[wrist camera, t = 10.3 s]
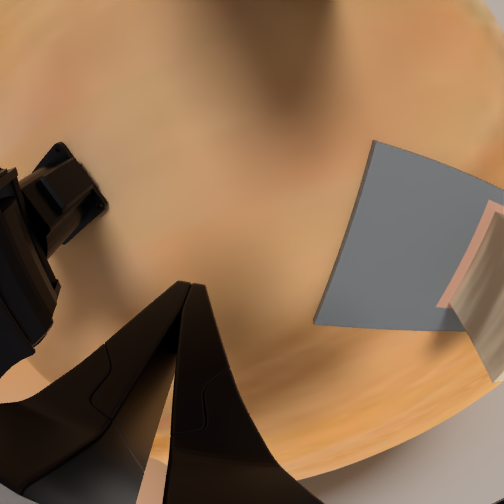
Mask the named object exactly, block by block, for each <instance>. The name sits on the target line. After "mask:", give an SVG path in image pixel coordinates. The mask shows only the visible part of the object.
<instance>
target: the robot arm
mask: <svg viewBox="0 0 504 504" xmlns="http://www.w3.org/2000/svg"><path fill="white" fill-rule="evenodd" d="M58 147H59V148H60V151H59V150H58ZM17 176H18V173H17V169H16V167H15V168H12V169H9V170H7V169H4V170H3V169H1V168H0V378H1V377H2V376H3V375H4V374H5V372H6V371H8V370H9V369H10V368H11V367H12V366H13V365H15V364H16V363H18V362H19V361H21V360H22V359H25V358H27V357H29V356H31V355H33V354H34V353H35V349H34V347H35V346H36V345H38V344H39V343H40V342H41V341H42V340H43V338H44V337H45V336H46V334H47V332H48V331H49V329H50V328H51V327H52V324H53V319H52V317H53V313H54V310H55V307H56V305H57V299H58V295H59V292H60V288H61V285H60V283H59V281H58V279H56V278H55V276H54V273H53V271H52V269H51V267H50V265H49V263H48V259H49V257H50V256H51V255H52V254H53V253H54V252H55V251H56V250H57V248H58V247H59V246H60V245H61V244H63V245H65V244H66V243H67V242H68V241H70V240H71V239H72V238H73V237H74V236H75V235H76V234H77V233H78V232H79V231H81V230H82V229H83V228H84V227H85V226H86V225H87V224H88V223H90V222H91V221H92V220H93V219H94V218H95V217H97V216H98V215H99V214H100V213H101V212H102V211H104V210H105V209H106V207H107V201H106V200H105V198H104V197H103V196H102V195H101V193H100V192H99V191H98V189H97V188H96V187H95V185H94V184H93V182H92V181H91V180H90V178H89V177H88V176H87V174H86V173H85V172H84V170H83V169H82V167H81V166H80V165H79V163H78V162H77V161H76V159H74V157H73V156H72V154H71V153H70V152H69V150H68V149H67V147H66V146H65V144H64V143H62V142H58V143H56V144H55V145H54V146H53V147H52V148H51V149H50V150H49V152H48V153H47V154H46V155H45V157H44V158H43V159H42V160H41V162H40V163H39V164H38V165H37V167H36V168H35V169H34V171H33V172H32V173H31V174H30V175H28V176H27V177H25V178H23V179H22V180H20V181H19V182H18V178H17ZM99 203H101V204H102V206H100V205H99ZM174 374H175V378H174V389H173V402H172V417H171V434H170V435H171V437H170V450H169V460H168V467H167V474H166V481H165V488H164V496H163V503H162V504H324V503H323V502H322V501H321V500H319V499H318V498H317V497H316V496H314V495H313V494H312V493H311V492H309V491H308V490H307V489H306V488H305V487H303V486H302V485H301V484H300V483H299V482H298V481H296V480H295V479H294V478H293V477H292V476H291V475H289V474H288V473H287V472H286V471H285V470H284V469H283V468H282V467H281V466H280V465H279V464H278V462H277V461H276V460H275V458H274V457H273V456H272V454H271V453H270V451H269V449H268V448H267V446H266V444H265V442H264V441H263V439H262V437H261V435H260V433H259V432H258V430H257V428H256V426H255V424H254V422H253V421H252V419H251V417H250V415H249V413H248V411H247V409H246V407H245V405H244V403H243V401H242V399H241V396H240V394H239V391H238V389H237V386H236V383H235V381H234V378H233V375H232V372H231V370H230V366H229V363H228V360H227V356H226V353H225V350H224V347H223V343H222V340H221V337H220V334H219V330H218V327H217V324H216V320H215V317H214V313H213V310H212V306H211V303H210V299H209V296H208V292H207V289H206V286H205V285H203V284H197V283H192V284H191V283H190V282H185V281H177V282H176V283H174V284H173V285H172V286H171V287H170V288H168V289H167V290H166V291H165V292H164V293H162V294H161V295H160V296H159V297H158V298H156V299H155V300H154V301H153V302H152V303H151V304H149V305H148V306H147V307H146V308H145V309H143V310H142V311H141V312H140V313H139V314H138V315H136V316H135V317H134V318H133V319H132V320H131V321H129V322H128V323H127V324H126V325H125V326H124V327H122V328H121V329H120V330H119V331H118V332H117V333H115V334H114V335H113V336H112V337H111V338H110V339H109V340H107V341H106V342H105V344H103V345H101V346H100V347H99V348H98V349H97V350H96V351H95V352H93V353H92V354H91V355H90V356H89V357H87V358H86V359H85V360H84V361H82V362H81V363H80V364H78V365H77V366H76V367H74V368H73V369H72V370H70V371H69V372H67V373H66V374H65V375H63V376H62V377H60V378H59V379H57V380H56V381H54V382H53V383H52V384H50V385H49V386H47V387H46V388H44V389H43V390H42V391H40V392H39V393H37V394H35V395H34V396H32V397H30V398H28V399H25V400H23V401H19V402H13V403H1V404H0V504H136V500H137V496H138V493H139V490H140V486H141V482H142V479H143V475H144V471H145V468H146V465H147V461H148V458H149V454H150V451H151V448H152V444H153V441H154V438H155V434H156V431H157V428H158V424H159V421H160V418H161V415H162V412H163V408H164V405H165V402H166V399H167V396H168V392H169V389H170V386H171V383H172V380H173V377H174ZM493 504H504V498H503V499H501V500H499V501H497V502H495V503H493Z"/></svg>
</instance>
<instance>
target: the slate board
mask: <svg viewBox="0 0 504 504" xmlns="http://www.w3.org/2000/svg"><path fill="white" fill-rule="evenodd" d="M495 211H496V212H499V213H501V214H503V215H504V190H503V189H501V188H498V187H496V186H494V185H492V184H490V183H488V182H486V181H483V180H481V179H479V178H477V177H475V176H472V175H470V174H468V173H465V172H463V171H460V170H458V169H456V168H453V167H451V166H448V165H445V164H443V163H440V162H438V161H435V160H432V159H430V158H427V157H424V156H421V155H418V154H415V153H413V152H410V151H407V150H404V149H401V148H397V147H394V146H391V145H388V144H385V143H381V142H378V141H374V140H373V142H372V146H371V150H370V154H369V157H368V161H367V165H366V168H365V172H364V175H363V179H362V182H361V185H360V189H359V192H358V195H357V199H356V202H355V205H354V208H353V211H352V214H351V218H350V221H349V224H348V227H347V230H346V233H345V236H344V239H343V242H342V245H341V248H340V250H339V253H338V256H337V259H336V262H335V265H334V267H333V270H332V273H331V276H330V278H329V281H328V284H327V286H326V289H325V292H324V294H323V297H322V299H321V302H320V304H319V307H318V310H317V312H316V315H315V317H314V324H315V325H326V326H339V327H353V328H369V329H388V330H413V331H466V330H465V328H464V326H463V325H462V323H461V321H460V320H459V318H458V316H457V314H456V313H455V311H454V309H453V308H452V306H451V304H450V303H449V301H450V300H451V298H452V296H453V295H454V293H455V291H456V289H457V288H458V286H459V284H460V282H461V281H462V279H463V277H464V275H465V273H466V272H467V270H468V268H469V266H470V264H471V262H472V260H473V258H474V256H475V254H476V252H477V250H478V248H479V246H480V244H481V242H482V240H483V238H484V236H485V233H486V231H487V229H488V227H489V224H490V222H491V220H492V218H493V215H494V213H495Z"/></svg>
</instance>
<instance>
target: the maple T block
mask: <svg viewBox="0 0 504 504" xmlns="http://www.w3.org/2000/svg"><path fill="white" fill-rule="evenodd" d="M449 303H450V304H451V306H452V308H453V309H454V311H455V313H456V314H457V316H458V318H459V320H460V321H461V323H462V325H463V326H464V328H465V330H466V332H467V334H468V335H469V337H470V339H471V341H472V343H473V345H474V346H475V348H476V350H477V352H478V354H479V356H480V358H481V360H482V362H483V364H484V366H485V368H486V370H487V372H488V374H489V376H490V378H491V381H492V383H494V382H498V381H503V380H504V215H503V214H501V213H499V212H496V211H495V213H494V215H493V218H492V220H491V222H490V224H489V227H488V229H487V231H486V233H485V236H484V238H483V240H482V242H481V244H480V246H479V248H478V250H477V252H476V254H475V256H474V258H473V260H472V262H471V264H470V266H469V268H468V270H467V272H466V273H465V275H464V277H463V279H462V281H461V282H460V284H459V286H458V288H457V289H456V291H455V293H454V295H453V296H452V298H451V300H450V301H449Z"/></svg>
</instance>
